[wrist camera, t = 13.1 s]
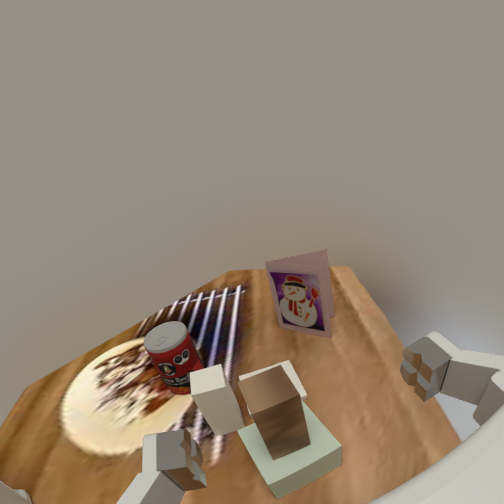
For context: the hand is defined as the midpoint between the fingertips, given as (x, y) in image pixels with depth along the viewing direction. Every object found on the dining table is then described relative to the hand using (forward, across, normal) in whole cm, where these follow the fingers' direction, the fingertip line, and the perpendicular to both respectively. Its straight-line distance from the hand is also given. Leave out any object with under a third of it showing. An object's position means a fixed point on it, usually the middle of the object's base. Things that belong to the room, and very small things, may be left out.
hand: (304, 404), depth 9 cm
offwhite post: (+22, -7, -28) cm, 36 cm away
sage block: (+12, 0, -28) cm, 30 cm away
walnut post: (+12, 0, -22) cm, 25 cm away
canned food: (+34, -13, -28) cm, 46 cm away
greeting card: (+39, +13, -28) cm, 50 cm away
